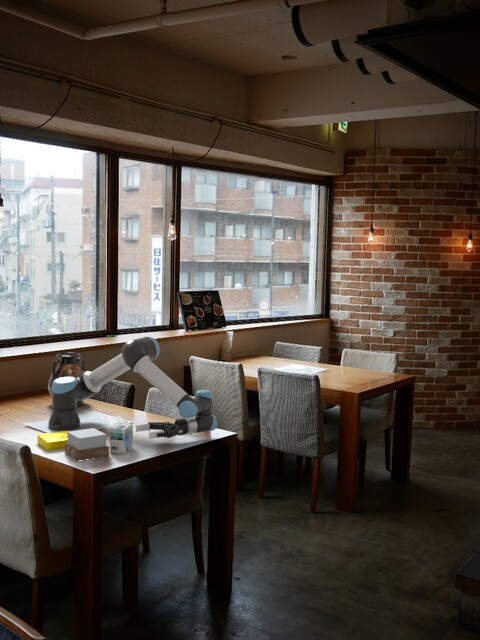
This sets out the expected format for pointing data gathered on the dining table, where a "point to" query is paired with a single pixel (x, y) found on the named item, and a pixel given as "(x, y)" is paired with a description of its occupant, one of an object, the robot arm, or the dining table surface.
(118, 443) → the light bulb box
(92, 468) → the dining table surface
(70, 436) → the tower top
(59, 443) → the element tile
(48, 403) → the dining table surface
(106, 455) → the tower base
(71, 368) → the amphora vase
